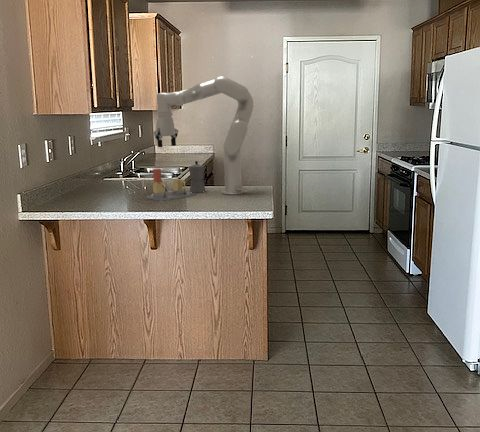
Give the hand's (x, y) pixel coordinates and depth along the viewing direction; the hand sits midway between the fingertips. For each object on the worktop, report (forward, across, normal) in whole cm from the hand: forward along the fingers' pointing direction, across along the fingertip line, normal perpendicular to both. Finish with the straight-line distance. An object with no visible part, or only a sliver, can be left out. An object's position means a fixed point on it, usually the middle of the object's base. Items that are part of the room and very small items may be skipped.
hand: (167, 146), depth 307 cm
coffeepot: (+28, -18, +4) cm, 34 cm away
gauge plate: (+28, +4, +6) cm, 29 cm away
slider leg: (+26, +11, +5) cm, 28 cm away
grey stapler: (+28, -3, -11) cm, 30 cm away
